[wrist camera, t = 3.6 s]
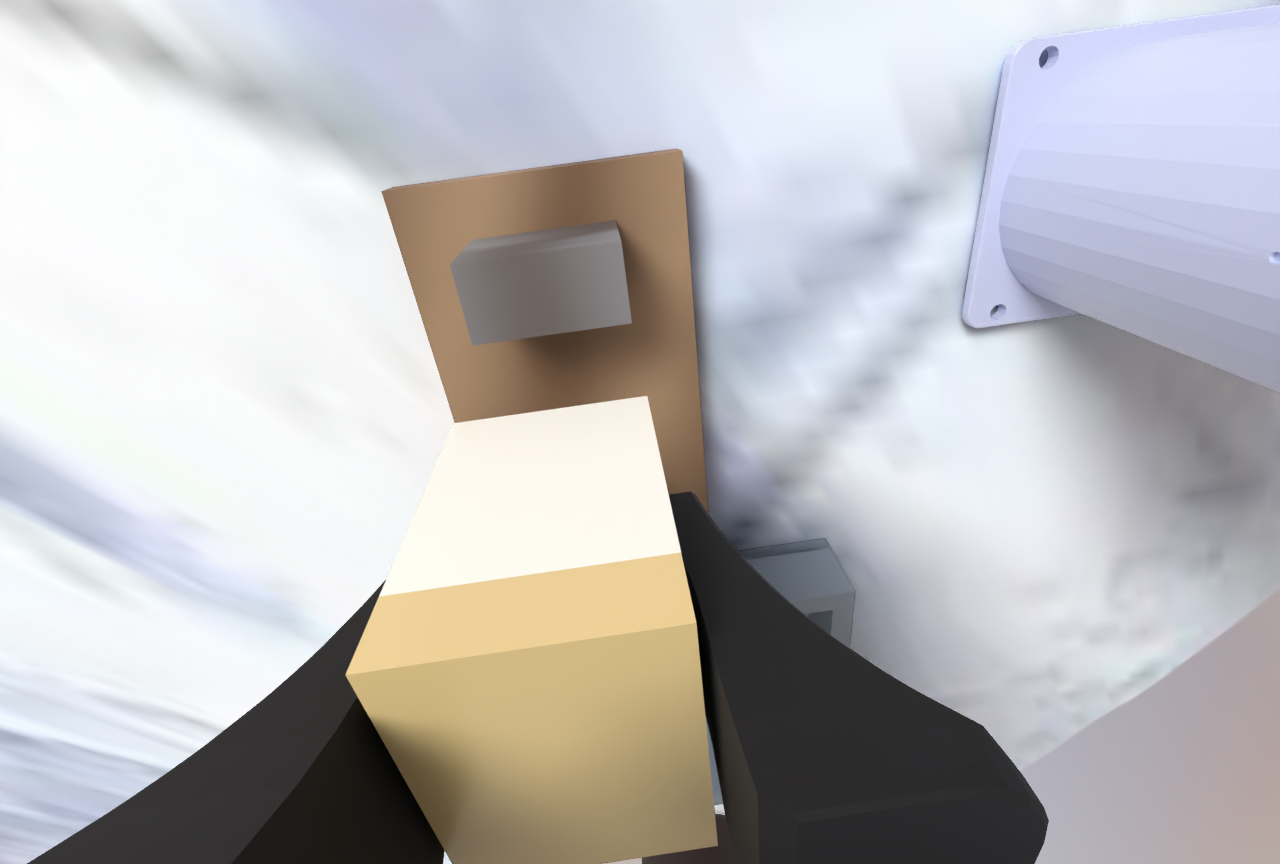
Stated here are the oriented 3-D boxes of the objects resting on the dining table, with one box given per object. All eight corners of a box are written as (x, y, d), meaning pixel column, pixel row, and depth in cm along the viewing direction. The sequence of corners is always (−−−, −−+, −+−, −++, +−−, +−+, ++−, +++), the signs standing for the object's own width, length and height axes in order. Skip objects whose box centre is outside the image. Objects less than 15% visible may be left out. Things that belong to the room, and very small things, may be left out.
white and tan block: (646, 395, 12) (696, 622, 6) (669, 575, 14) (717, 845, 9) (452, 423, 12) (345, 675, 6) (509, 599, 14) (463, 884, 9)
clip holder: (676, 148, 16) (702, 158, 13) (704, 515, 22) (726, 588, 19) (392, 187, 16) (339, 208, 12) (502, 544, 22) (486, 624, 19)
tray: (825, 538, 24) (855, 591, 21) (814, 727, 30) (836, 786, 27) (541, 580, 23) (535, 639, 21) (590, 761, 30) (591, 824, 27)
